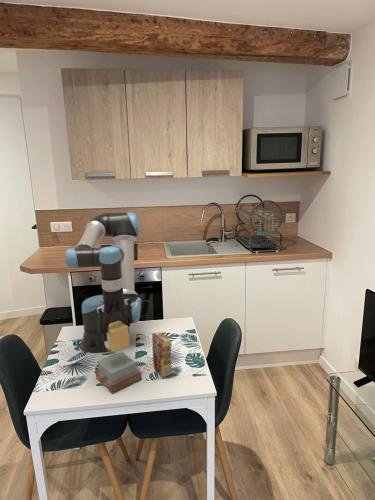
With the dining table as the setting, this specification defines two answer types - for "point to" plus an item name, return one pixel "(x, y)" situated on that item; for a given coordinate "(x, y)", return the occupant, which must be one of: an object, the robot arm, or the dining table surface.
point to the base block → (119, 381)
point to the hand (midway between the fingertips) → (116, 344)
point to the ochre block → (118, 335)
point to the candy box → (161, 354)
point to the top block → (117, 367)
